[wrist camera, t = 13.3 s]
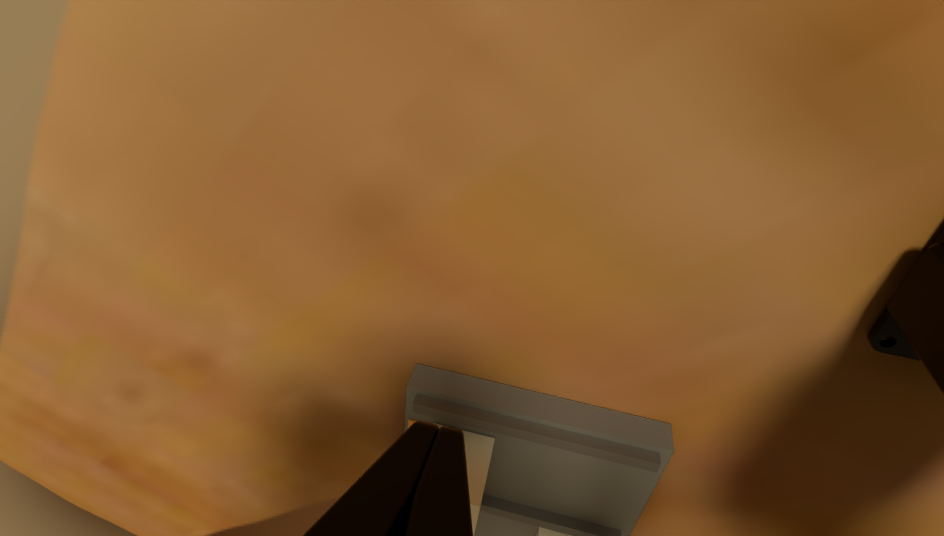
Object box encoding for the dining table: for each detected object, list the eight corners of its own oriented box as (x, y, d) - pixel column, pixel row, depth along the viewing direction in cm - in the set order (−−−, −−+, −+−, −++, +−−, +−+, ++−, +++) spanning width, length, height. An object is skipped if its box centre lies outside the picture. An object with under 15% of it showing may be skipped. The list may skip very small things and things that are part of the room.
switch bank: (671, 423, 24) (675, 463, 23) (575, 615, 36) (573, 651, 34) (416, 363, 26) (402, 396, 24) (403, 566, 37) (393, 598, 36)
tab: (494, 438, 25) (479, 506, 22) (484, 487, 27) (469, 554, 25) (432, 422, 25) (410, 488, 23) (427, 472, 28) (407, 537, 25)
